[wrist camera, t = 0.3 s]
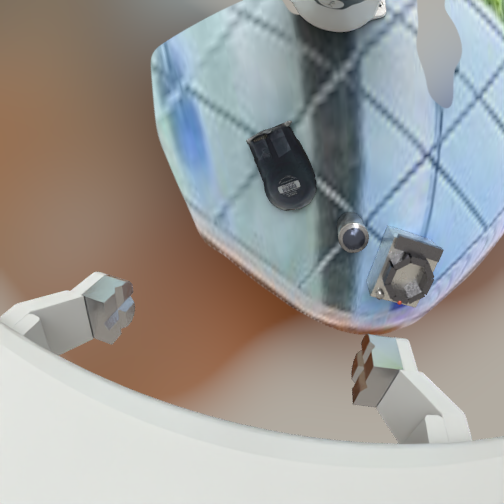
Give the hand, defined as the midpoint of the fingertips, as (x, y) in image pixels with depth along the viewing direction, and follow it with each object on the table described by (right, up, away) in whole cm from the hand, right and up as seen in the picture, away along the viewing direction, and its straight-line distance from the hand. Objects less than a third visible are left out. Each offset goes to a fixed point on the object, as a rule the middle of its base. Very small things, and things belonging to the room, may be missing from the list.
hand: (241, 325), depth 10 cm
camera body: (+29, +1, +45) cm, 54 cm away
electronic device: (+6, +17, +43) cm, 47 cm away
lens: (+18, +7, +44) cm, 49 cm away
